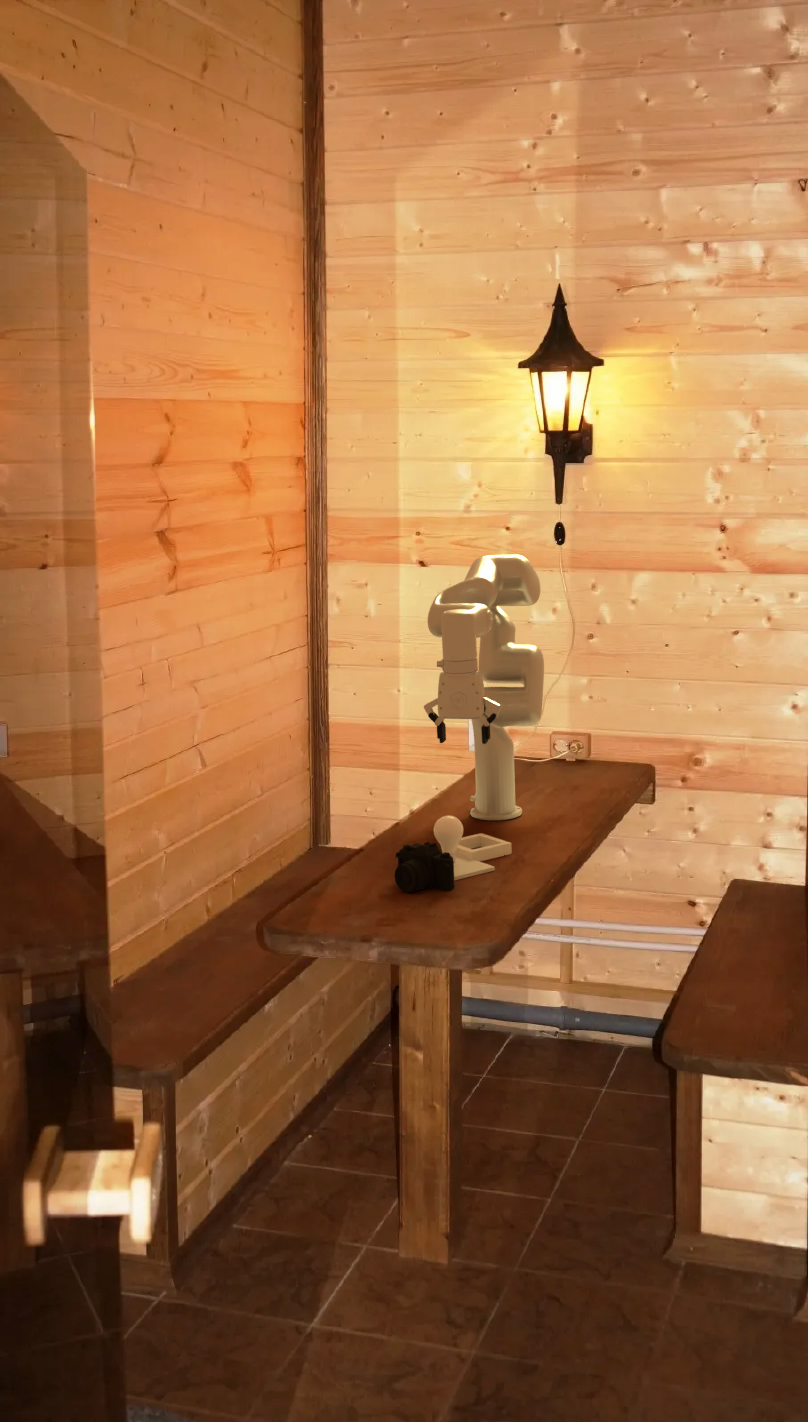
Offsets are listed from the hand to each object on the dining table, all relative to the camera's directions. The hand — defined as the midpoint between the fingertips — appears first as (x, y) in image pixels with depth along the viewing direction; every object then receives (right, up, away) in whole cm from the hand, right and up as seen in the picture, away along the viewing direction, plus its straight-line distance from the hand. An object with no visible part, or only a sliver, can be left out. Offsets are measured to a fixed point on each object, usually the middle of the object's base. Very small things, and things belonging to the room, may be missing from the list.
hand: (464, 742), depth 324 cm
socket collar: (+3, -25, +3) cm, 25 cm away
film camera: (-10, -30, -20) cm, 37 cm away
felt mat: (-4, -27, -9) cm, 29 cm away
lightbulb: (-3, -27, -9) cm, 28 cm away
